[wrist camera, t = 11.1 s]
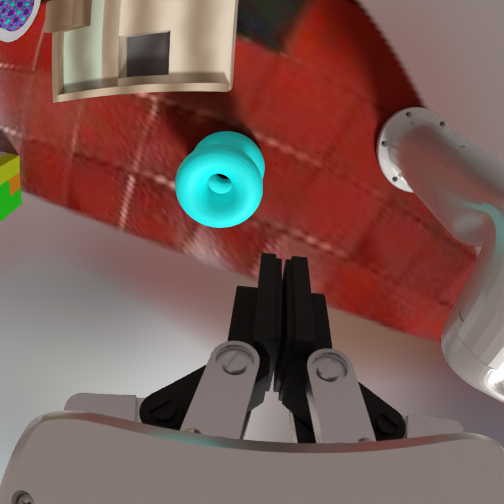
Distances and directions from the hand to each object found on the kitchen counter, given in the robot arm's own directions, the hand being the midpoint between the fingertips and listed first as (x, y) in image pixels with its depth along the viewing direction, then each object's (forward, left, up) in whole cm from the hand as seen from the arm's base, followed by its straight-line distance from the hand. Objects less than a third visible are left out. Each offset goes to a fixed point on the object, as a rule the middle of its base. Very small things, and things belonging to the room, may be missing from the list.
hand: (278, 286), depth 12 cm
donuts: (+6, +6, -32) cm, 33 cm away
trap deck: (+18, -17, -32) cm, 40 cm away
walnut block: (+27, -17, -29) cm, 43 cm away
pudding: (+43, -23, -33) cm, 58 cm away
